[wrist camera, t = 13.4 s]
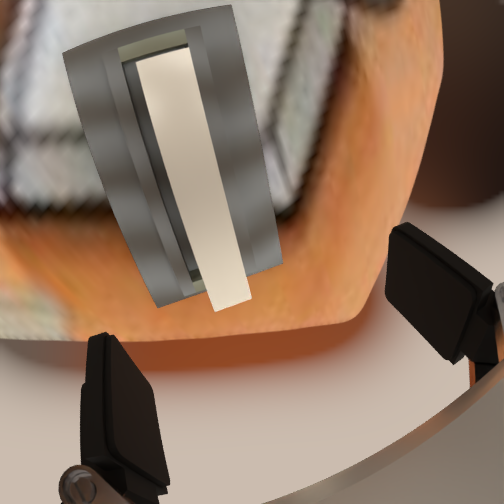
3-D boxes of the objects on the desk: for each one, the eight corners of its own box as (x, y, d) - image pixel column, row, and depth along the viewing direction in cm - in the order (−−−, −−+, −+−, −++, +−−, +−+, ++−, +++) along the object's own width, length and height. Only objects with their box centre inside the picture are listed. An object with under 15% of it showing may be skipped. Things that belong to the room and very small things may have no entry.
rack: (65, 54, 18) (55, 50, 16) (228, 7, 20) (238, -2, 18) (156, 302, 32) (159, 320, 30) (279, 258, 35) (290, 273, 32)
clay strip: (139, 71, 20) (135, 62, 14) (175, 60, 21) (189, 47, 14) (196, 259, 30) (214, 311, 24) (225, 249, 31) (252, 298, 24)
